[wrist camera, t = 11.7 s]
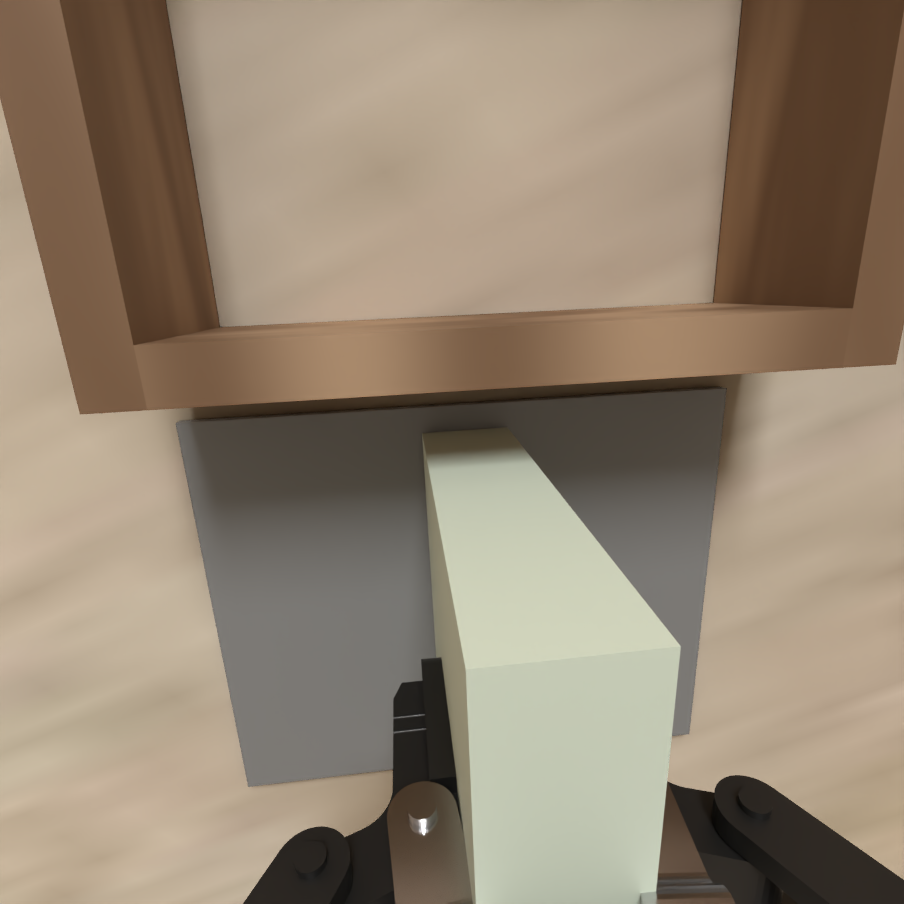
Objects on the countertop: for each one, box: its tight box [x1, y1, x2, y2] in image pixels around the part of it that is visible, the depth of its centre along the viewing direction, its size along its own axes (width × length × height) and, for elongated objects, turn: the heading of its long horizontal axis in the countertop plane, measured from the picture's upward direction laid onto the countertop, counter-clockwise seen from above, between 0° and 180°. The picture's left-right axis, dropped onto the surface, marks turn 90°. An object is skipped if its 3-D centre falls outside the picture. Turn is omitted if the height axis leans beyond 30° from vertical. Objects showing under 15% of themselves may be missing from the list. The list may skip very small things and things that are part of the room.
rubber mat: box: [176, 387, 727, 787], centre depth 18 cm, size 16×13×1 cm
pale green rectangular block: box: [422, 427, 681, 904], centre depth 12 cm, size 2×11×10 cm, turn 3°
